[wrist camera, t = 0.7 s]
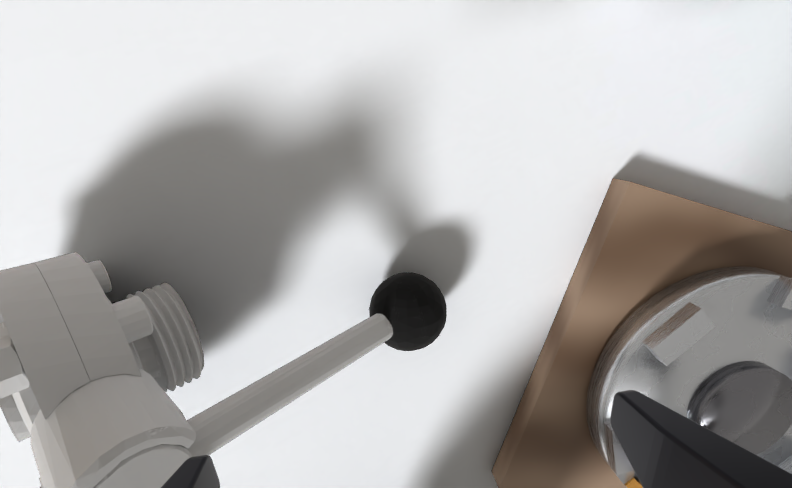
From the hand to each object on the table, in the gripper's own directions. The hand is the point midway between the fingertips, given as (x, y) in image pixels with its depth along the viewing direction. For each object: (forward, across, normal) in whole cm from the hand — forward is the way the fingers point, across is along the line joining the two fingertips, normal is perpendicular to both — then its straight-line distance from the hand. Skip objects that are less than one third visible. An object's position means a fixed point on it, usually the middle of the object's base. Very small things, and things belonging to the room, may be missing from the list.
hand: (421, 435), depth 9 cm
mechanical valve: (+15, +8, +4) cm, 17 cm away
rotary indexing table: (+12, -20, +12) cm, 26 cm away
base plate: (+13, -20, +12) cm, 27 cm away
